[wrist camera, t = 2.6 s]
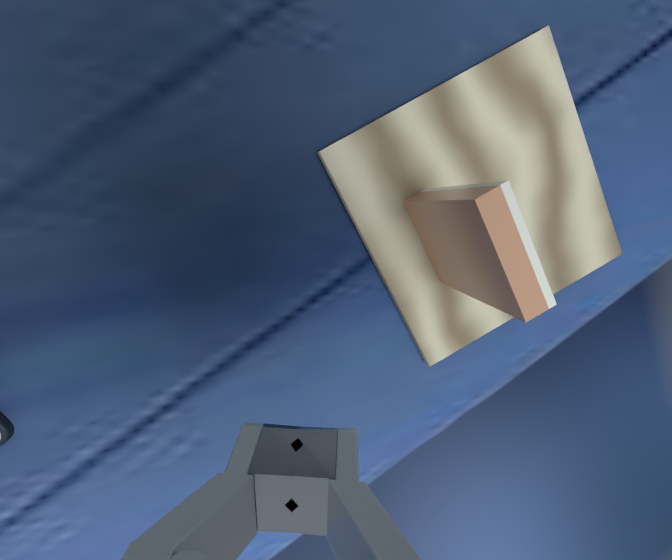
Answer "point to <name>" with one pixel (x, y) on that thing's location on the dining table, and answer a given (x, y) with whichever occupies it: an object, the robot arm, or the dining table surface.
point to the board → (472, 168)
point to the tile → (482, 246)
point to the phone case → (5, 429)
